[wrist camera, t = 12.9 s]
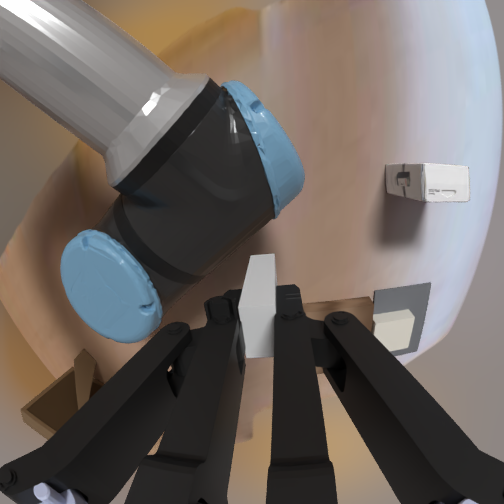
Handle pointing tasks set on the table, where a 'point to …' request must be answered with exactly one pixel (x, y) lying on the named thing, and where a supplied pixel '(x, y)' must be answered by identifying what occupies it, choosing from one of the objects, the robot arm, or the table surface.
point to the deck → (355, 306)
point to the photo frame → (62, 397)
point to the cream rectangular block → (393, 329)
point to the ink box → (429, 182)
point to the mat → (402, 300)
